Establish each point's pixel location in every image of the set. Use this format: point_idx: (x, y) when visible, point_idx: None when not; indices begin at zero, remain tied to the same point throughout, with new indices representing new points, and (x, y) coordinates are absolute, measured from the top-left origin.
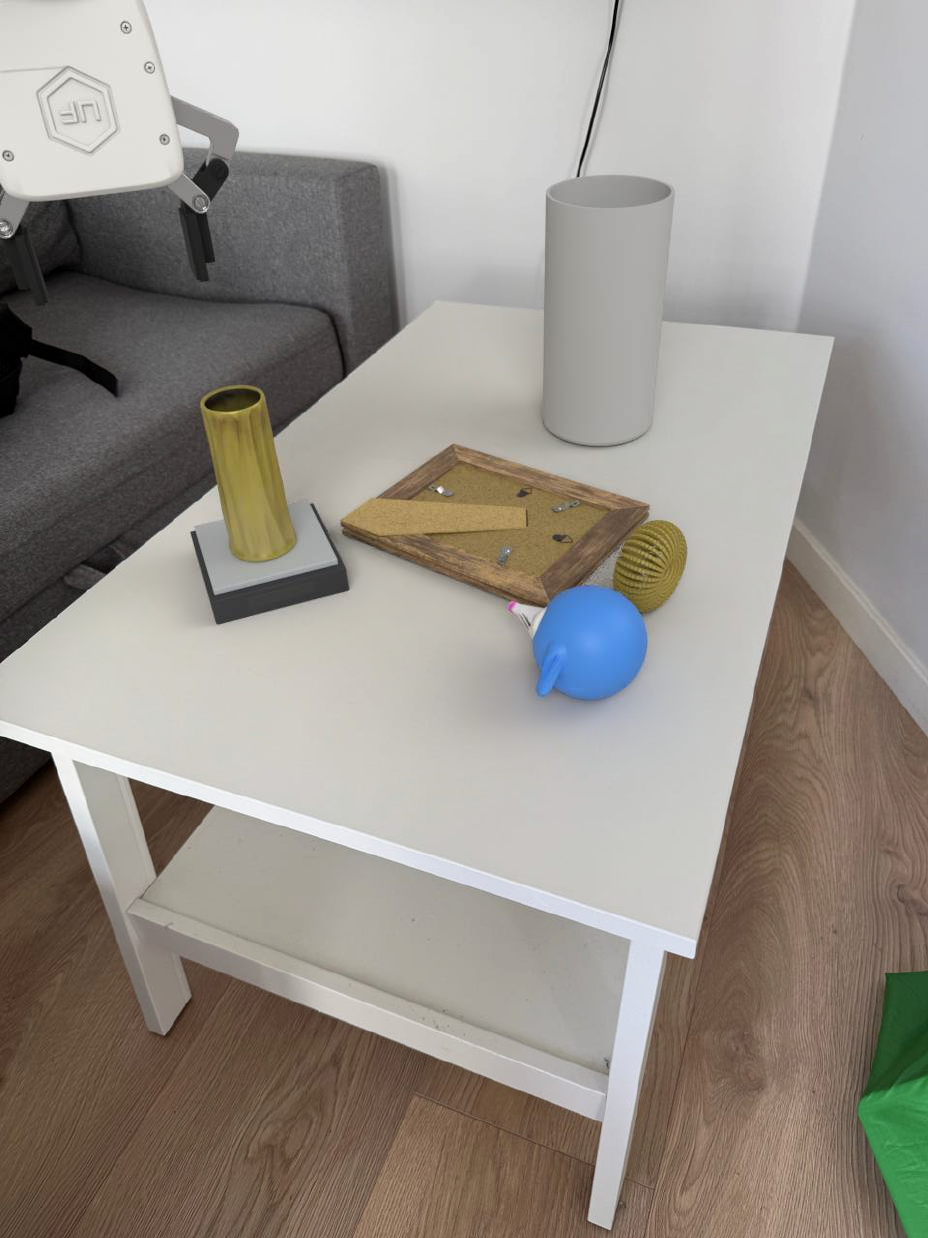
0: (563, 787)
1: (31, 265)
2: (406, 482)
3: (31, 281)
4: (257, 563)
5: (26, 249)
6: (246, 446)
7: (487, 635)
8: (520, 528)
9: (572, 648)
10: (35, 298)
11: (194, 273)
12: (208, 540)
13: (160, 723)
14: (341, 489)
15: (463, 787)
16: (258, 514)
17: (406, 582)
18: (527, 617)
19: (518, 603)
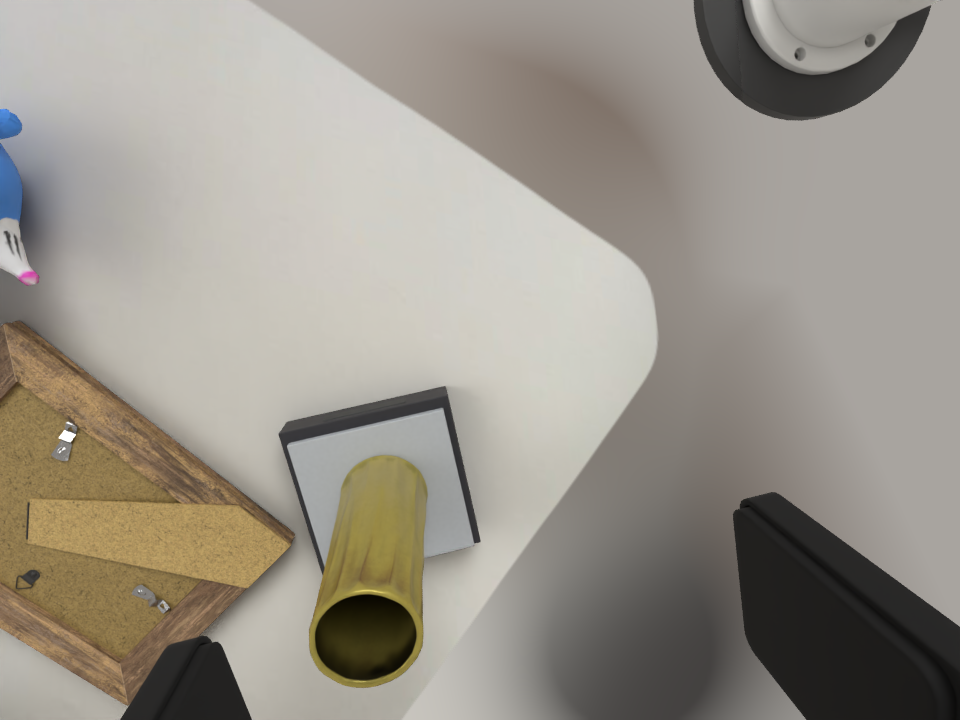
0: (29, 16)
1: (851, 579)
2: (199, 620)
3: (821, 533)
4: (390, 454)
5: (914, 627)
6: (357, 552)
7: (109, 303)
8: (39, 498)
9: None
10: (781, 499)
11: (233, 694)
12: (454, 512)
13: (497, 232)
14: (297, 631)
15: (153, 47)
16: (371, 489)
17: (213, 425)
18: (5, 243)
19: (17, 275)
